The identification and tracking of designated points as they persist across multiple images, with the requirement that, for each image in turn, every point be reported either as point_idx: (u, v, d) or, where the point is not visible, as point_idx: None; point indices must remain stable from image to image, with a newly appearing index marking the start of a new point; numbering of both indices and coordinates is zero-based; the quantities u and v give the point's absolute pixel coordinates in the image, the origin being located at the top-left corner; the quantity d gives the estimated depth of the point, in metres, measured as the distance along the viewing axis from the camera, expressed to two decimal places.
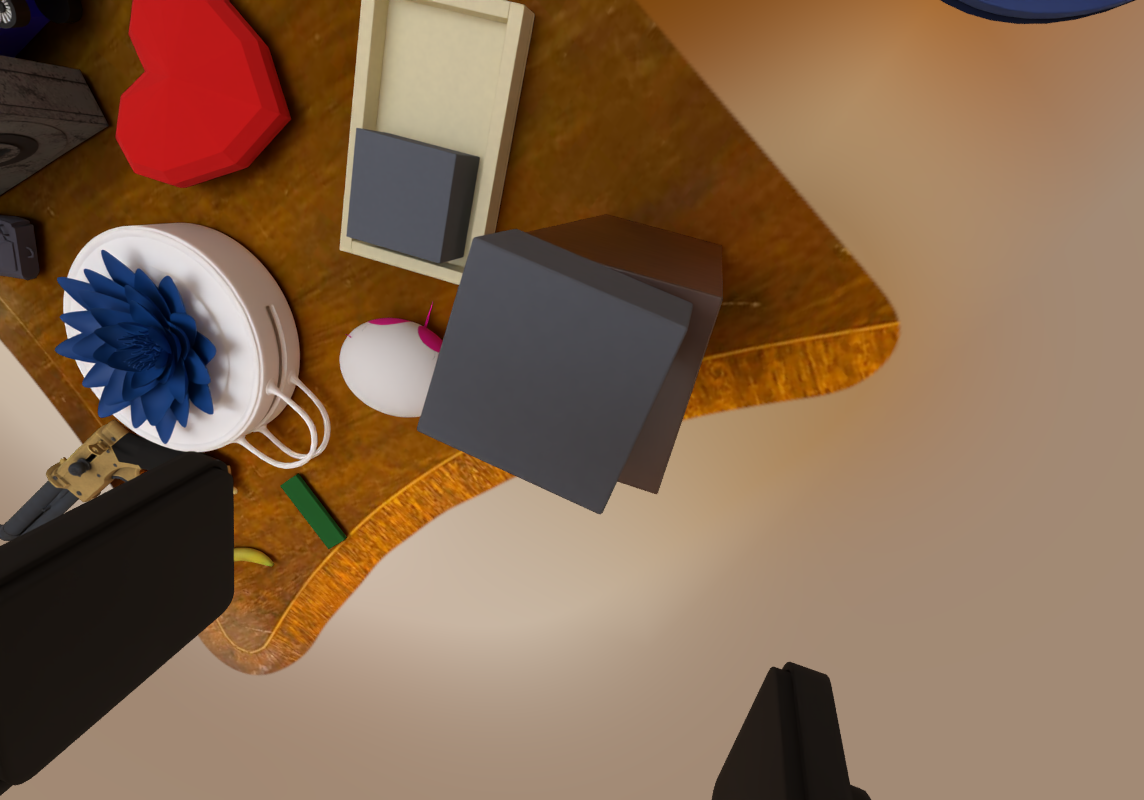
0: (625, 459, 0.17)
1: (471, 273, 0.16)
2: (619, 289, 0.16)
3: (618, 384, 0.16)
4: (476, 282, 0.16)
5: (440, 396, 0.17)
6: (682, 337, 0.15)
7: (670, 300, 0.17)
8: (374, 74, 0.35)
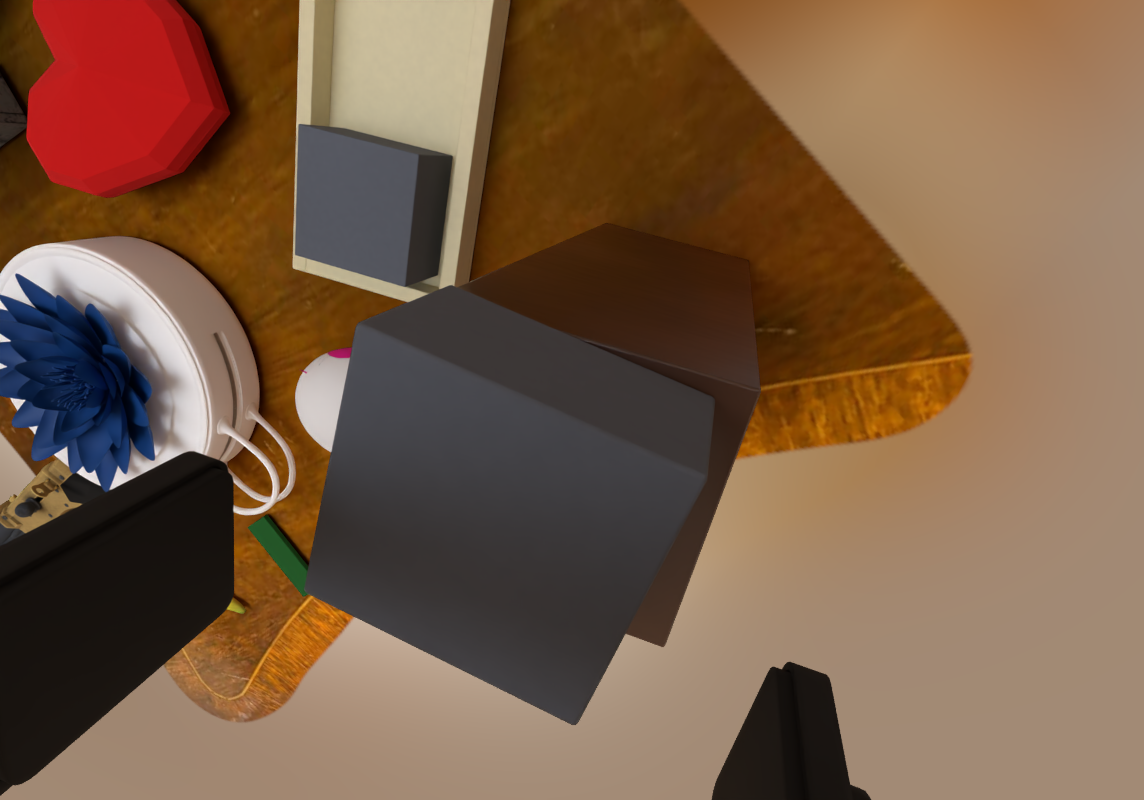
0: (610, 658, 0.11)
1: (358, 378, 0.10)
2: (597, 398, 0.10)
3: (595, 553, 0.10)
4: (367, 392, 0.10)
5: (331, 550, 0.11)
6: (698, 491, 0.09)
7: (680, 401, 0.11)
8: (322, 57, 0.29)
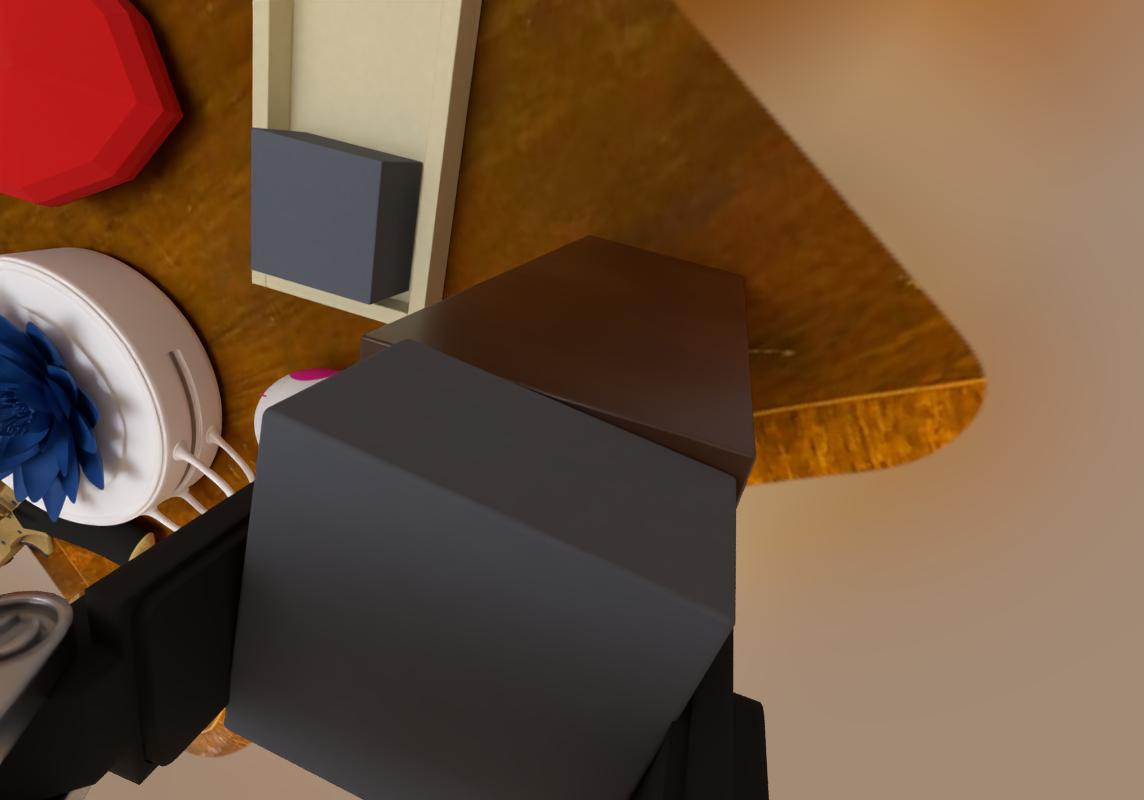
0: None
1: (269, 478, 0.08)
2: (586, 498, 0.08)
3: (586, 706, 0.07)
4: (282, 496, 0.08)
5: (252, 682, 0.09)
6: (724, 638, 0.07)
7: (693, 489, 0.09)
8: (280, 55, 0.26)
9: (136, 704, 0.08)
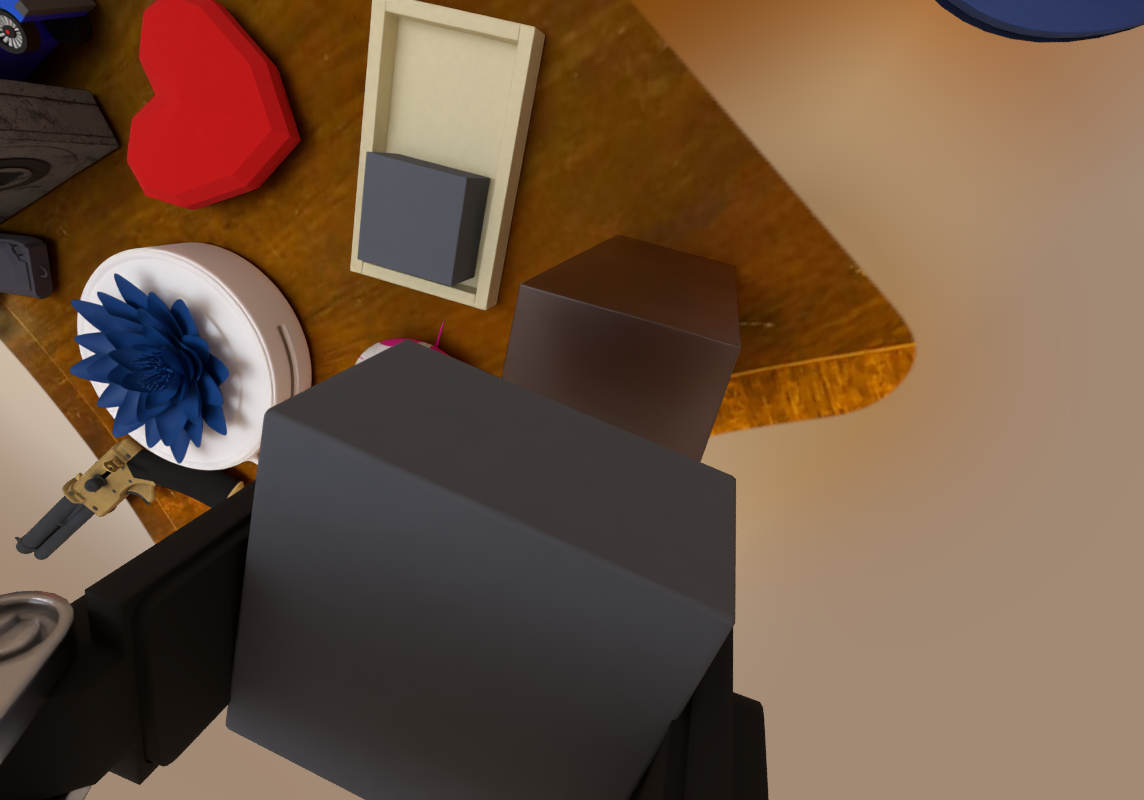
0: None
1: (271, 480, 0.08)
2: (586, 498, 0.08)
3: (587, 705, 0.08)
4: (283, 497, 0.08)
5: (254, 682, 0.09)
6: (724, 637, 0.07)
7: (693, 488, 0.09)
8: (384, 96, 0.35)
9: (136, 704, 0.08)
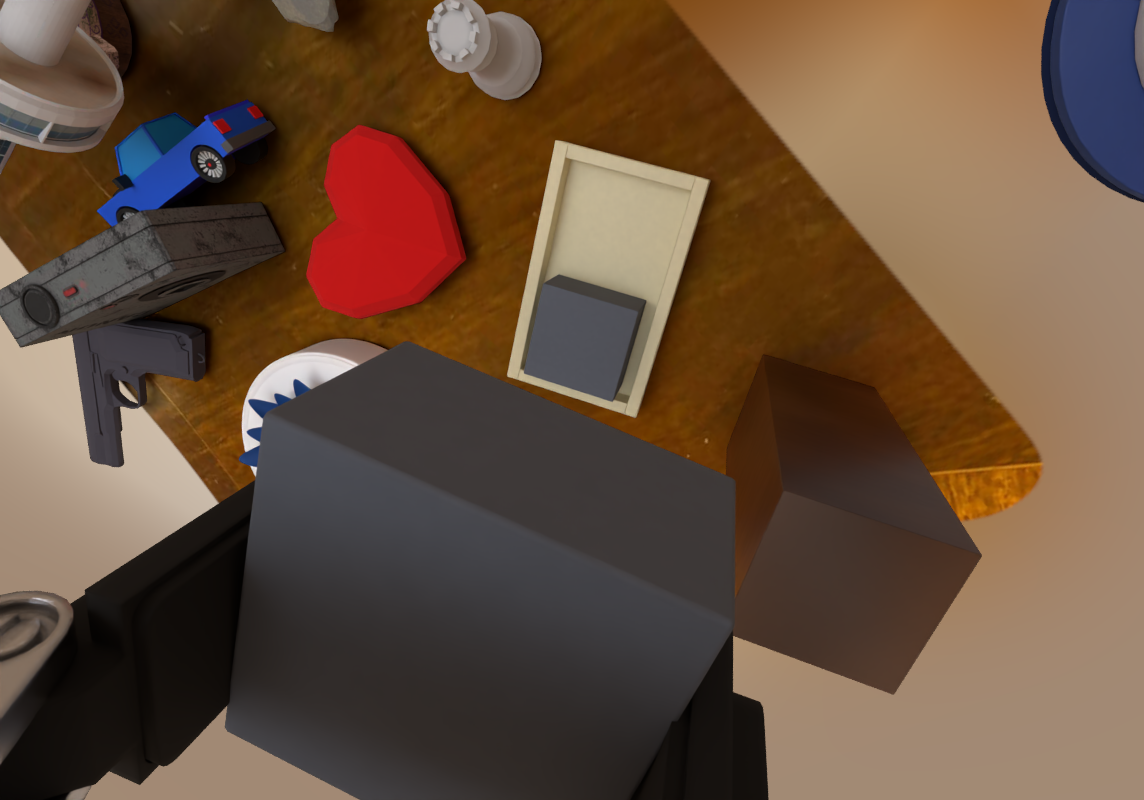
0: None
1: (270, 482, 0.08)
2: (585, 501, 0.08)
3: (586, 708, 0.08)
4: (283, 499, 0.08)
5: (253, 685, 0.09)
6: (723, 640, 0.07)
7: (693, 491, 0.09)
8: (553, 227, 0.38)
9: (136, 704, 0.08)
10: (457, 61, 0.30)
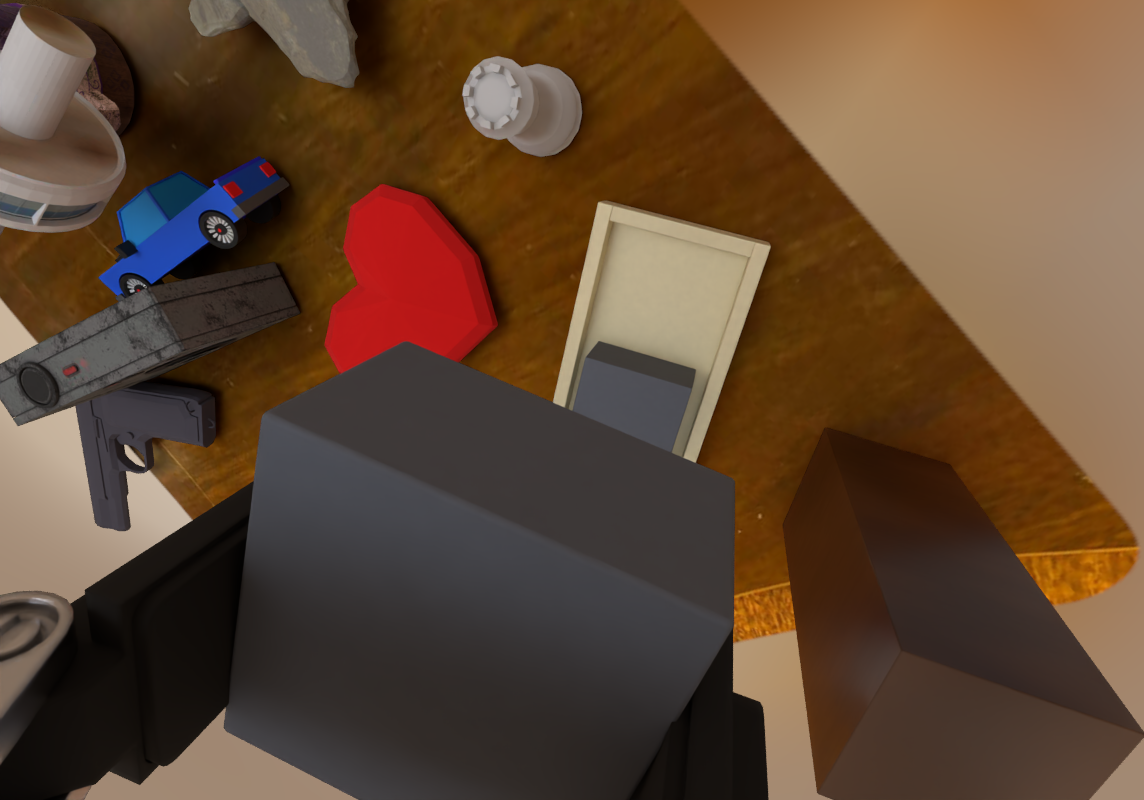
0: None
1: (269, 482, 0.08)
2: (585, 501, 0.08)
3: (585, 709, 0.08)
4: (282, 499, 0.08)
5: (252, 685, 0.09)
6: (723, 640, 0.07)
7: (692, 491, 0.09)
8: (594, 292, 0.34)
9: (136, 704, 0.08)
10: (496, 128, 0.26)
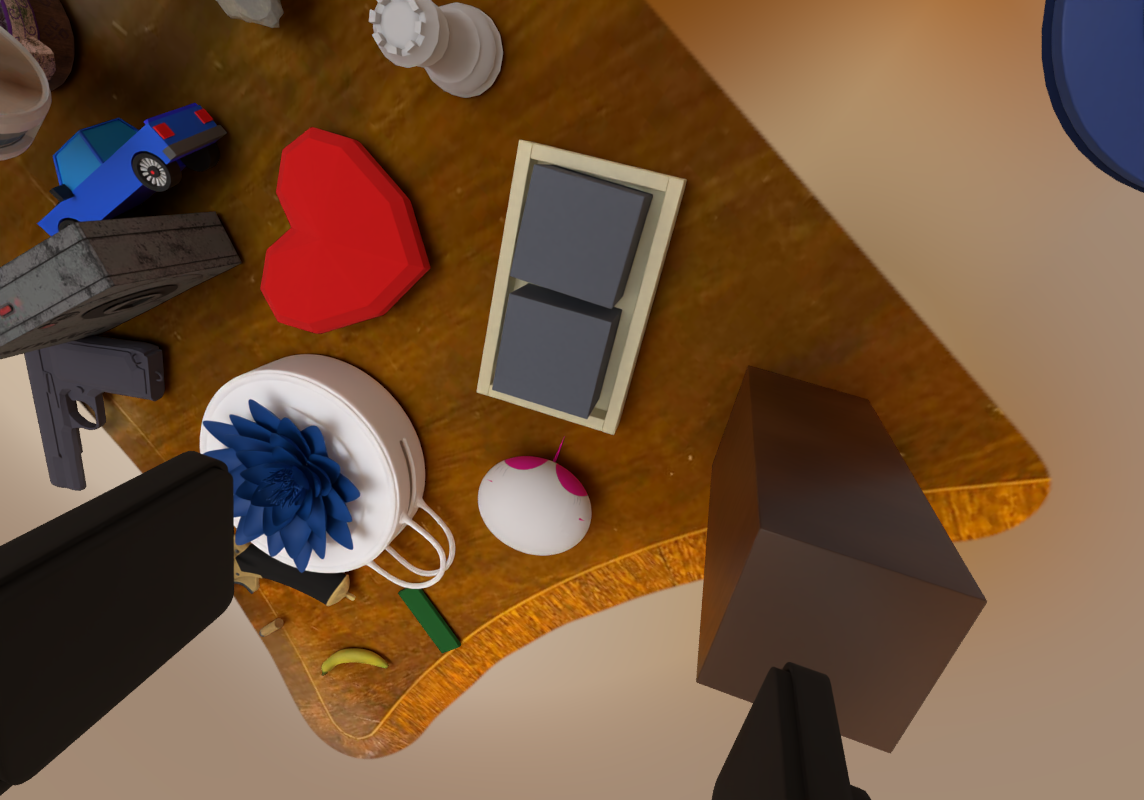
0: (621, 274, 0.32)
1: (534, 183, 0.31)
2: (610, 184, 0.31)
3: (613, 232, 0.31)
4: (537, 187, 0.31)
5: (521, 254, 0.33)
6: (642, 202, 0.30)
7: (639, 191, 0.33)
8: None
9: None
10: (404, 55, 0.27)
